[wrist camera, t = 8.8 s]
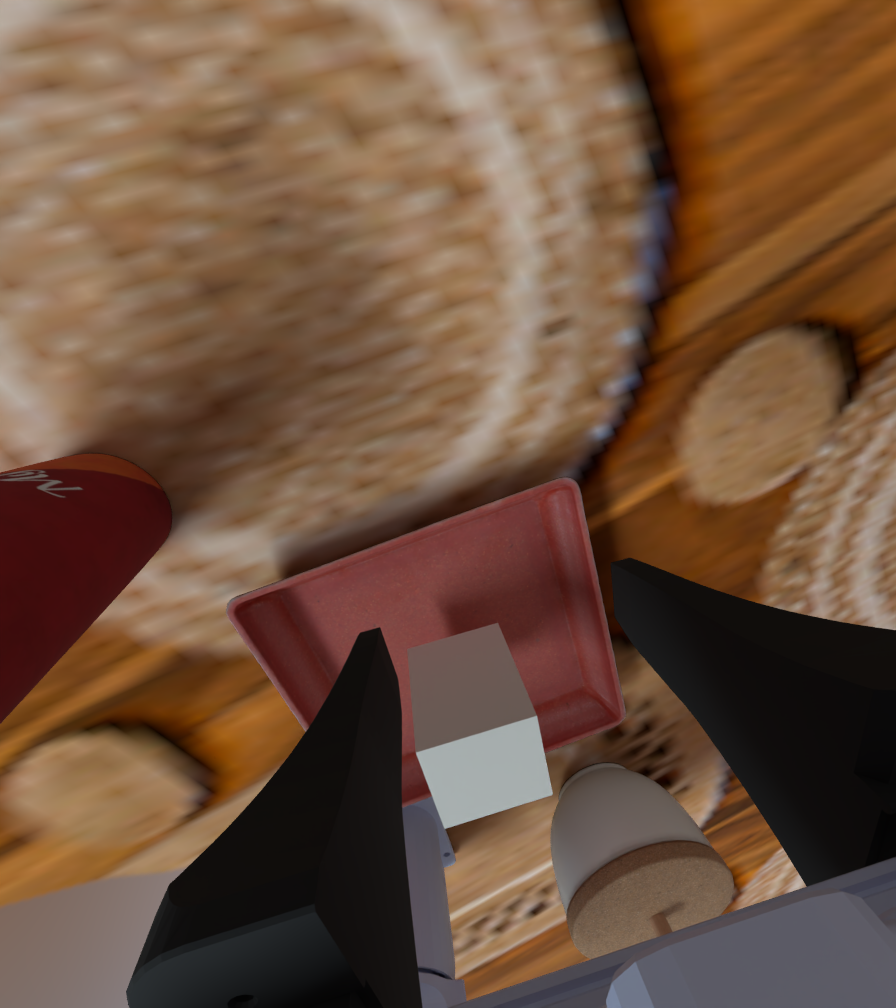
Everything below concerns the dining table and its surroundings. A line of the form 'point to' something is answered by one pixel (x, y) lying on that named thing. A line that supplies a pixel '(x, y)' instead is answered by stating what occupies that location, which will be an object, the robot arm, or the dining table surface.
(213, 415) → the dining table surface
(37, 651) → the paper cup
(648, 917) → the lidded jar
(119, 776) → the dining table surface
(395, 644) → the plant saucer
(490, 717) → the block
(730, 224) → the dining table surface
